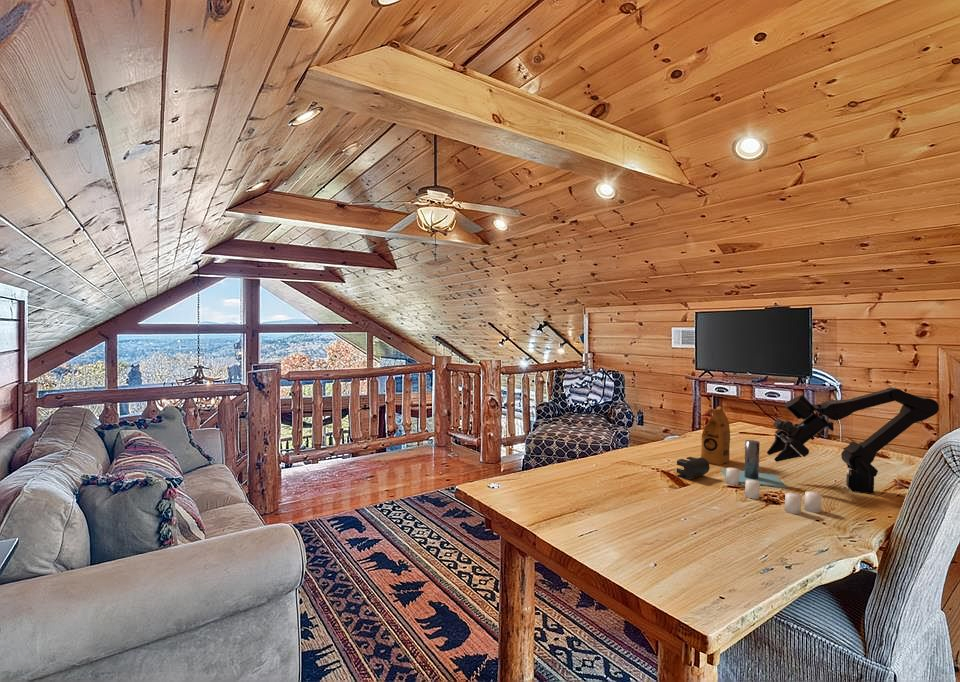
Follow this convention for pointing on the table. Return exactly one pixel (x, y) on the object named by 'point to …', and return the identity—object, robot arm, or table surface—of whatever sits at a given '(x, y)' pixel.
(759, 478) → the mat
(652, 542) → the table surface
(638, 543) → the table surface
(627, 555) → the table surface
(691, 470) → the end cap
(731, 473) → the spacers
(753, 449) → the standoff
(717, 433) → the coffee package
